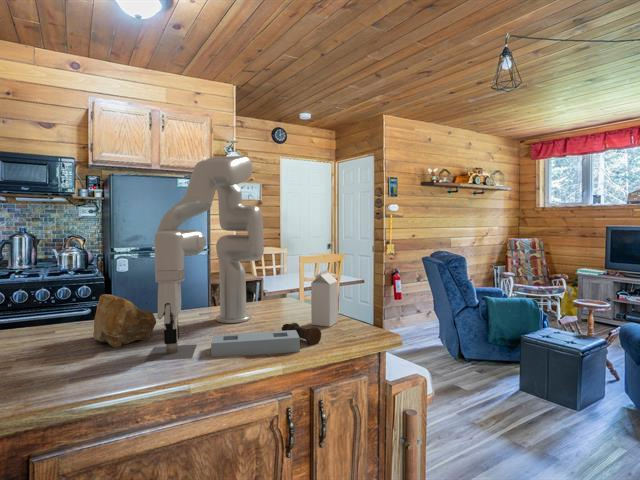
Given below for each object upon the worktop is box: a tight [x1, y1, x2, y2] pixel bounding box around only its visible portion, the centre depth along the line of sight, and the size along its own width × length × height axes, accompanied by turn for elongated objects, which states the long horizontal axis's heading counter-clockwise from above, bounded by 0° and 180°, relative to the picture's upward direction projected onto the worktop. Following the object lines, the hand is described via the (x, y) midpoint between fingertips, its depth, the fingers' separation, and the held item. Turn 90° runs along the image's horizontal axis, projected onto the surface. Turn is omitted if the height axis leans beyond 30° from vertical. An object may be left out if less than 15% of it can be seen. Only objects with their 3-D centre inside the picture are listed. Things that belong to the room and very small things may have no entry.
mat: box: [144, 344, 198, 363], centre depth 112 cm, size 12×12×1 cm
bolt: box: [281, 322, 322, 346], centre depth 125 cm, size 6×5×15 cm
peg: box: [165, 316, 179, 354], centre depth 111 cm, size 3×3×10 cm
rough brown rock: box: [92, 293, 157, 349], centre depth 124 cm, size 23×17×15 cm
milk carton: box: [310, 269, 339, 328], centre depth 142 cm, size 7×7×19 cm
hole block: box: [210, 330, 301, 358], centre depth 114 cm, size 24×8×4 cm, turn 101°
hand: (171, 340), depth 111 cm, fingers closed on peg, 3 cm apart
